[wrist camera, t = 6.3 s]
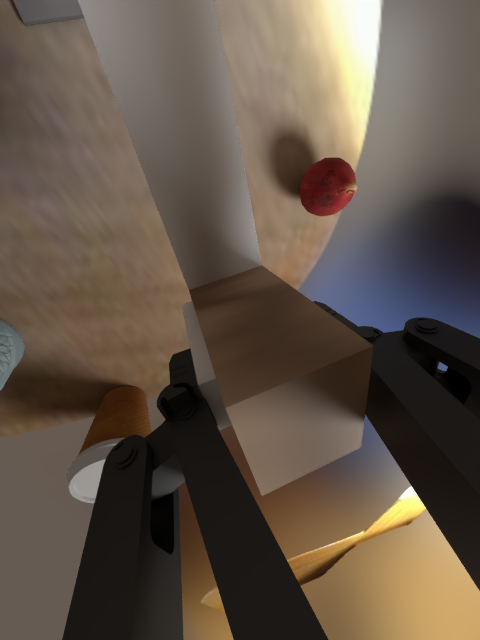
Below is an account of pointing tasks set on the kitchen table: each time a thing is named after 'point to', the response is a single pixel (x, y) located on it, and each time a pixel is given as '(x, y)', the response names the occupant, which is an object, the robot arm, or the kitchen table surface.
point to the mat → (48, 10)
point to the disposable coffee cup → (107, 437)
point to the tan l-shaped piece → (229, 242)
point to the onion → (327, 186)
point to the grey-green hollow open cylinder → (9, 350)
